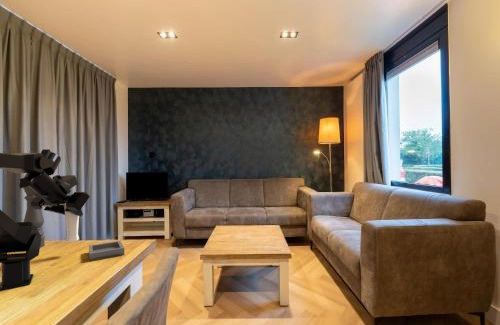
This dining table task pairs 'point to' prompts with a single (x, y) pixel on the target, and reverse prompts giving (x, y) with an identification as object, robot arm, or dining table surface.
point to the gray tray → (106, 250)
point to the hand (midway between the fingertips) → (76, 215)
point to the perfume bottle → (71, 226)
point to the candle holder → (33, 213)
